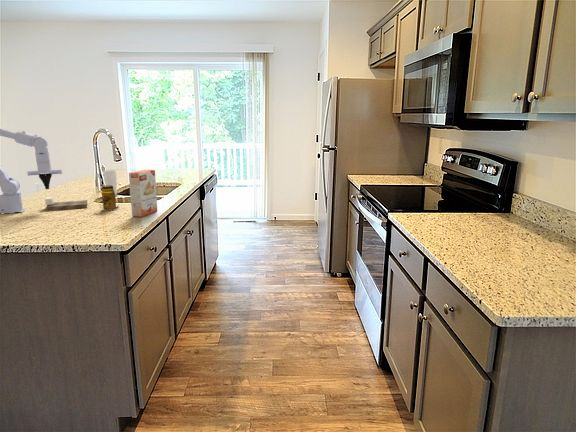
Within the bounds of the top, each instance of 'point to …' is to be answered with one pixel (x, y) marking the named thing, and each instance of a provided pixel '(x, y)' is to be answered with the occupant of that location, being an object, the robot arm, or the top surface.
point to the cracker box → (143, 192)
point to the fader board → (67, 205)
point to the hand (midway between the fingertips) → (47, 188)
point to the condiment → (108, 198)
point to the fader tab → (49, 201)
